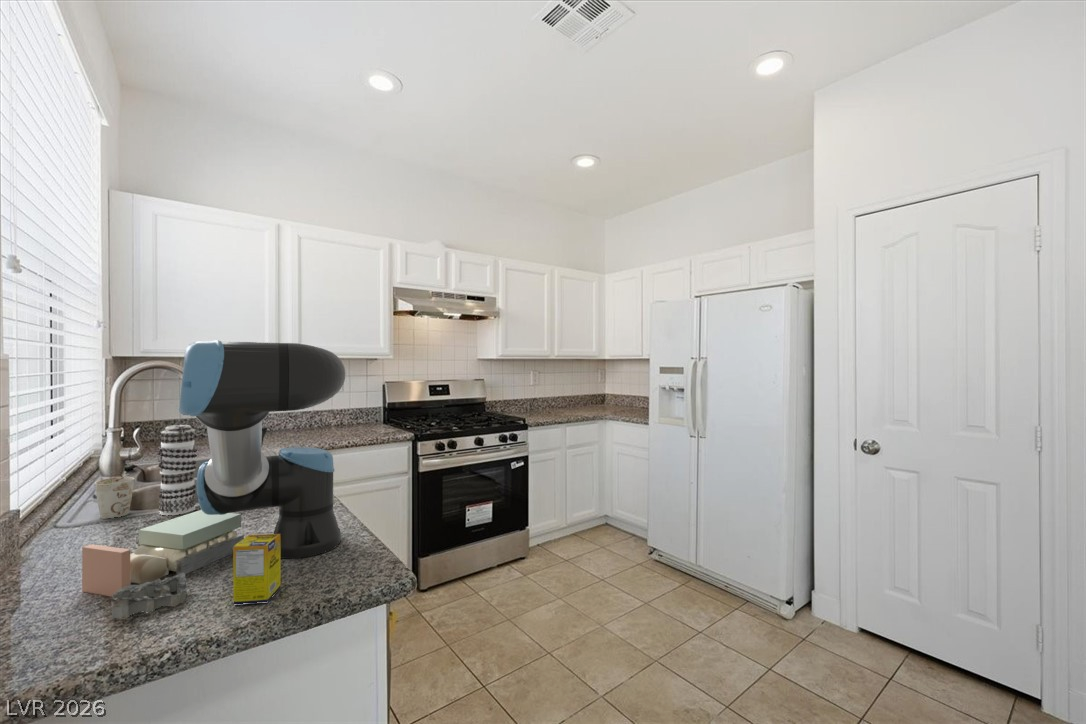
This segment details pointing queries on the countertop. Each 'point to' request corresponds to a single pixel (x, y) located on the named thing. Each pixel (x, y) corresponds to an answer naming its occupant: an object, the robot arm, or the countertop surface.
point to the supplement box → (256, 568)
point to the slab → (188, 529)
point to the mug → (114, 496)
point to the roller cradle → (157, 557)
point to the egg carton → (148, 596)
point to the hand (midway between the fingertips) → (242, 496)
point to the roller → (146, 568)
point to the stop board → (105, 569)
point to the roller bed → (194, 552)
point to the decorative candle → (177, 470)
